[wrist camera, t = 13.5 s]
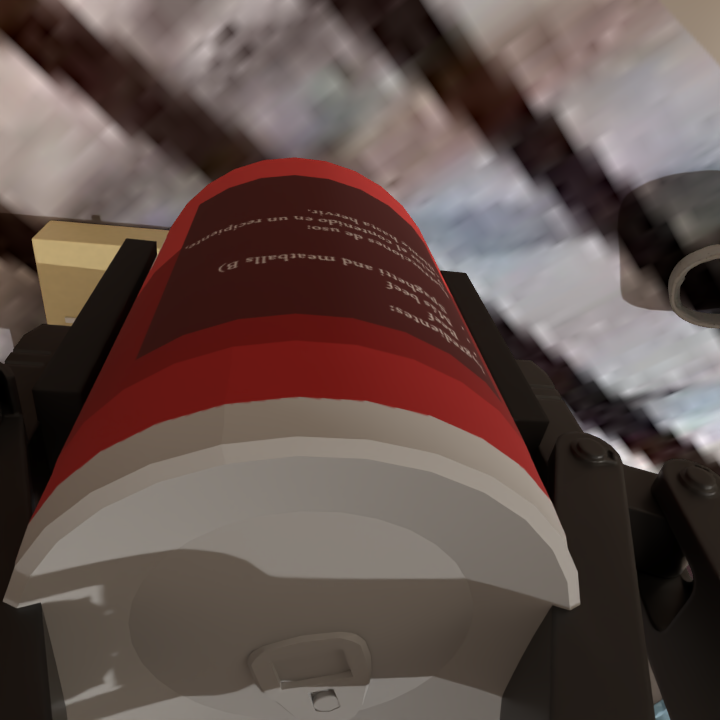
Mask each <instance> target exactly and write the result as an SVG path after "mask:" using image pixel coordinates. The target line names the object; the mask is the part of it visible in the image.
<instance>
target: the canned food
mask: <svg viewBox="0 0 720 720" xmlns="http://www.w3.org/2000/svg"><path fill="white" fill-rule="evenodd" d="M3 602H5V603H7V604H9V605H11V606H13V607H15V608H21V607H25V606H28V605H32V604H36V603H40V602H41V605H42V608H43V612H44V616H45V620H46V624H47V628H48V632H49V636H50V640H51V644H52V648H53V653H54V657H55V661H56V665H57V670H58V674H59V678H60V683H61V687H62V692H63V696H64V701H65V705H66V711H67V719H68V720H499V719H500V710H501V700H502V695H503V693H504V691H505V689H506V687H507V685H508V683H509V681H510V679H511V677H512V675H513V673H514V671H515V669H516V667H517V665H518V663H519V661H520V659H521V657H522V655H523V654H524V652H525V650H526V648H527V646H528V645H529V643H530V641H531V639H532V637H533V636H534V634H535V632H536V631H537V629H538V627H539V626H540V624H541V623H542V621H543V619H544V618H545V616H546V614H547V613H548V611H549V610H550V608H551V607H552V605H553V606H557V607H560V608H563V609H567V610H572V609H574V608H575V607H577V606H579V605H580V594H579V581H578V571H577V569H576V567H575V564H574V562H573V560H572V557H571V555H570V553H569V550H568V546H567V540H566V535H565V532H564V530H563V528H562V525H561V523H560V521H559V518H558V516H557V514H556V511H555V509H554V507H553V504H552V502H551V500H550V498H549V496H548V493H547V491H546V489H545V487H544V485H543V483H542V481H541V479H540V477H539V475H538V473H537V470H536V468H535V466H534V463H533V461H532V459H531V456H530V454H529V452H528V449H527V447H526V445H525V442H524V440H523V438H522V436H521V434H520V432H519V430H518V428H517V426H516V424H515V422H514V420H513V418H512V416H511V414H510V412H509V410H508V408H507V406H506V404H505V402H504V400H503V398H502V396H501V394H500V392H499V390H498V388H497V386H496V384H495V382H494V380H493V378H492V376H491V373H490V371H489V369H488V367H487V365H486V363H485V361H484V359H483V357H482V355H481V353H480V351H479V349H478V347H477V345H476V343H475V341H474V339H473V337H472V335H471V333H470V331H469V329H468V327H467V325H466V323H465V321H464V319H463V317H462V315H461V313H460V311H459V309H458V307H457V305H456V303H455V301H454V299H453V297H452V295H451V293H450V291H449V289H448V286H447V284H446V282H445V280H444V278H443V276H442V274H441V272H440V270H439V268H438V266H437V264H436V262H435V260H434V258H433V256H432V254H431V252H430V250H429V248H428V246H427V244H426V242H425V240H424V238H423V236H422V234H421V232H420V230H419V228H418V227H417V225H416V224H415V223H414V221H413V220H412V218H411V217H410V216H409V214H408V213H407V211H406V210H405V209H404V207H403V206H402V205H401V204H400V203H399V202H398V201H396V200H395V199H394V198H393V197H392V196H391V195H390V194H389V193H388V192H387V191H385V190H384V189H383V188H382V187H381V186H379V185H378V184H376V183H374V182H373V181H371V180H369V179H367V178H366V177H364V176H362V175H361V174H359V173H357V172H356V171H353V170H350V169H347V168H344V167H341V166H338V165H335V164H332V163H329V162H326V161H319V160H311V159H302V158H284V159H273V160H263V161H260V162H257V163H254V164H250V165H247V166H244V167H241V168H237V169H234V170H233V171H231V172H229V173H227V174H226V175H224V176H222V177H220V178H219V179H217V180H215V181H213V182H212V183H210V184H208V185H207V186H206V187H205V188H204V189H203V190H202V191H201V192H199V193H198V194H197V195H196V196H195V197H194V198H193V199H192V200H191V201H190V202H189V203H188V204H187V205H186V206H185V208H184V209H183V210H182V212H181V213H180V215H179V216H178V218H177V219H176V221H175V222H174V224H173V225H172V227H171V228H170V230H169V232H168V234H167V236H166V239H165V241H164V243H163V245H162V247H161V249H160V251H159V253H158V255H157V257H156V259H155V261H154V263H153V265H152V267H151V269H150V271H149V273H148V275H147V277H146V279H145V281H144V283H143V285H142V287H141V290H140V292H139V294H138V296H137V298H136V300H135V302H134V304H133V306H132V308H131V310H130V312H129V314H128V316H127V318H126V320H125V322H124V324H123V326H122V328H121V330H120V332H119V334H118V336H117V338H116V341H115V343H114V345H113V347H112V349H111V351H110V353H109V355H108V357H107V359H106V361H105V363H104V365H103V367H102V369H101V371H100V373H99V375H98V377H97V379H96V381H95V383H94V385H93V387H92V389H91V392H90V394H89V396H88V398H87V400H86V402H85V404H84V406H83V408H82V410H81V412H80V414H79V416H78V418H77V420H76V422H75V424H74V426H73V428H72V430H71V432H70V434H69V436H68V438H67V440H66V443H65V445H64V447H63V449H62V451H61V453H60V455H59V457H58V459H57V462H56V464H55V467H54V470H53V473H52V476H51V478H50V480H49V482H48V484H47V486H46V488H45V490H44V492H43V494H42V497H41V499H40V501H39V503H38V505H37V507H36V509H35V511H34V513H33V515H32V517H31V520H30V522H29V524H28V526H27V529H26V532H25V535H24V538H23V541H22V544H21V546H20V549H19V552H18V555H17V558H16V561H15V568H14V571H13V574H12V576H11V579H10V582H9V585H8V588H7V591H6V593H5V596H4V599H3Z"/></svg>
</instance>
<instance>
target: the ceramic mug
mask: <svg viewBox="0 0 720 720" xmlns="http://www.w3.org/2000/svg"><path fill="white" fill-rule="evenodd" d="M714 259H720V244H717V245H711V246H707V247H705V248H702V249H700V250H697V251H695V252H693V253H690V254H689V255H687V256H686V257H684V258H683V259H682V260H681V261H679V263H678V264H677V265H676V266H675V268H674V269H673V271H672V273H671V275H670V277H669V281H668V293H669V299H670V304H671V307H672V309H673V311H674V312H675V313H676V314H677V315H678V316H679V317H680V318H682V319H683V320H685V321H687V322H689V323H692V324H695V325H698V326H702V327H708V328H720V314H710V313H702V312H696V311H693V310H691V309H688V308H686V307H685V306H683V305H682V303H681V301H680V286H681V284H682V283H683V281H684V279H685V275H686V274H687V272H688V271H689V270H690V269H692V268H693V267H695V266H697V265H699V264H701V263H704V262H708V261H711V260H714Z"/></svg>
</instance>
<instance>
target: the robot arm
mask: <svg viewBox="0 0 720 720" xmlns="http://www.w3.org/2000/svg"><path fill="white" fill-rule="evenodd" d="M156 257H157V241H149V240H139V239H129V238H126V239H125V241H124V242H123V244H122V246H121V247H120V249H119V250H118V252H117V254H116V255H115V257H114V258H113V260H112V262H111V263H110V265H109V266H108V268H107V270H106V271H105V273H104V274H103V276H102V278H101V279H100V281H99V282H98V284H97V286H96V287H95V289H94V291H93V292H92V294H91V295H90V297H89V299H88V300H87V302H86V303H85V305H84V307H83V308H82V310H81V311H80V313H79V315H78V316H77V318H76V319H75V321H74V323H73V324H72V326H64V325H51V324H42V325H40V326H39V327H37V328H35V329H34V330H32V331H30V332H29V333H27V334H25V335H24V336H23V337H22V338H21V340H20V341H19V342H18V344H17V345H16V346H15V348H14V349H13V352H11V353H10V355H9V356H8V357H7V359H6V360H5V364H3V363H1V362H0V720H68V719H67V711H66V705H65V701H64V696H63V692H62V687H61V683H60V678H59V674H58V670H57V665H56V661H55V657H54V653H53V648H52V644H51V640H50V636H49V632H48V628H47V624H46V620H45V616H44V612H43V608H42V605H41V602H40V603H36V604H32V605H28V606H25V607H21V608H15V607H13V606H11V605H9V604H7V603H5V602H3V599H4V596H5V593H6V591H7V588H8V585H9V582H10V579H11V576H12V574H13V571H14V568H15V561H16V558H17V555H18V552H19V549H20V546H21V544H22V541H23V538H24V535H25V532H26V529H27V526H28V524H29V522H30V520H31V517H32V515H33V513H34V511H35V509H36V507H37V505H38V503H39V501H40V499H41V497H42V494H43V492H44V490H45V488H46V486H47V484H48V482H49V480H50V478H51V476H52V473H53V470H54V467H55V464H56V462H57V459H58V457H59V455H60V453H61V451H62V449H63V447H64V445H65V443H66V440H67V438H68V436H69V434H70V432H71V430H72V428H73V426H74V424H75V422H76V420H77V418H78V416H79V414H80V412H81V410H82V408H83V406H84V404H85V402H86V400H87V398H88V396H89V394H90V392H91V389H92V387H93V385H94V383H95V381H96V379H97V377H98V375H99V373H100V371H101V369H102V367H103V365H104V363H105V361H106V359H107V357H108V355H109V353H110V351H111V349H112V347H113V345H114V343H115V341H116V338H117V336H118V334H119V332H120V330H121V328H122V326H123V324H124V322H125V320H126V318H127V316H128V314H129V312H130V310H131V308H132V306H133V304H134V302H135V300H136V298H137V296H138V294H139V292H140V290H141V287H142V285H143V283H144V281H145V279H146V277H147V275H148V273H149V271H150V269H151V267H152V265H153V263H154V261H155V259H156ZM440 272H441V274H442V276H443V278H444V280H445V282H446V284H447V286H448V289H449V291H450V293H451V295H452V297H453V299H454V301H455V303H456V305H457V307H458V309H459V311H460V313H461V315H462V317H463V319H464V321H465V323H466V325H467V327H468V329H469V331H470V333H471V335H472V337H473V339H474V341H475V343H476V345H477V347H478V349H479V351H480V353H481V355H482V357H483V359H484V361H485V363H486V365H487V367H488V369H489V371H490V373H491V376H492V378H493V380H494V382H495V384H496V386H497V388H498V390H499V392H500V394H501V396H502V398H503V400H504V402H505V404H506V406H507V408H508V410H509V412H510V414H511V416H512V418H513V420H514V422H515V424H516V426H517V428H518V430H519V432H520V434H521V436H522V438H523V440H524V442H525V445H526V447H527V449H528V452H529V454H530V456H531V459H532V461H533V463H534V466H535V468H536V470H537V473H538V475H539V477H540V479H541V481H542V483H543V485H544V487H545V489H546V491H547V493H548V496H549V498H550V500H551V502H552V504H553V507H554V509H555V511H556V514H557V516H558V518H559V521H560V523H561V525H562V528H563V530H564V532H565V535H566V540H567V546H568V550H569V553H570V555H571V557H572V560H573V562H574V564H575V567H576V569H577V571H578V581H579V594H580V605H579V606H577V607H575V608H574V609H572V610H567V609H563V608H560V607H557V606H553V605H552V607H551V608H550V610H549V611H548V613H547V614H546V616H545V618H544V619H543V621H542V623H541V624H540V626H539V627H538V629H537V631H536V632H535V634H534V636H533V637H532V639H531V641H530V643H529V645H528V646H527V648H526V650H525V652H524V654H523V655H522V657H521V659H520V661H519V663H518V665H517V667H516V669H515V671H514V673H513V675H512V677H511V679H510V681H509V683H508V685H507V687H506V689H505V691H504V693H503V695H502V700H501V710H500V719H499V720H720V476H718V475H717V474H716V473H714V472H713V471H712V470H710V469H709V468H707V467H705V466H702V465H701V464H698V463H696V462H692V461H688V460H685V459H671V460H669V461H667V462H665V463H664V465H663V467H662V468H661V470H660V472H659V473H658V474H655V473H652V472H648V471H644V470H641V469H637V468H634V467H630V466H627V465H624V464H623V463H622V461H621V458H620V456H619V454H618V453H617V452H616V451H615V450H614V448H613V447H612V446H611V445H609V444H608V443H606V442H605V441H603V440H602V439H600V438H598V437H595V436H593V435H591V434H588V433H584V432H583V431H582V429H581V428H580V426H579V424H578V423H577V421H576V420H575V418H574V416H573V415H572V413H571V412H570V410H569V408H568V407H567V405H566V404H565V402H564V400H561V398H562V397H561V396H560V394H559V392H558V391H557V389H555V386H554V384H553V383H552V381H551V380H550V378H549V376H548V375H547V373H546V372H544V371H543V370H542V369H541V368H540V367H538V366H537V365H536V364H535V363H533V362H532V361H529V360H516V359H514V357H513V355H512V353H511V352H510V350H509V348H508V346H507V345H506V343H505V341H504V339H503V337H502V336H501V334H500V332H499V330H498V329H497V327H496V325H495V323H494V322H493V320H492V318H491V316H490V315H489V313H488V311H487V309H486V307H485V306H484V304H483V302H482V300H481V299H480V297H479V295H478V293H477V292H476V290H475V288H474V286H473V285H472V283H471V281H470V279H469V277H468V276H467V274H466V273H460V272H451V271H441V270H440ZM688 564H689V566H690V568H691V571H692V574H693V580H692V578H691V577H690V575H689V573H688V571H687V569H686V567H687V565H688Z"/></svg>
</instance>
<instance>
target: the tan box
mask: <svg viewBox="0 0 720 720" xmlns="http://www.w3.org/2000/svg"><path fill="white" fill-rule="evenodd" d="M168 232H169V230H158V229H146V228H134V227H122V226H110V225H98V224H86V223H75V222H63V221H49V222H48V223H47V224H46V225H45V226H44V227H43V228H42V229H41V230H40V231H39V232H38V233H37V234H36V235H35V236H34V237H33V238H32V245H33V250H34V255H35V261H36V266H37V271H38V276H39V282H40V287H41V292H42V298H43V303H44V308H45V314H46V319H47V324H51V325H64V326H72V324H73V323H74V321H75V319H76V318H77V316H78V315H79V313H80V311H81V310H82V308H83V307H84V305H85V303H86V302H87V300H88V299H89V297H90V295H91V294H92V292H93V291H94V289H95V287H96V286H97V284H98V282H99V281H100V279H101V278H102V276H103V274H104V273H105V271H106V270H107V268H108V266H109V265H110V263H111V262H112V260H113V258H114V257H115V255H116V254H117V252H118V250H119V249H120V247H121V246H122V244H123V242H124V241H125V239H126V238H129V239H139V240H149V241H157V255H158V253H159V251H160V249H161V247H162V245H163V243H164V241H165V239H166V236H167V234H168Z"/></svg>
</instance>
